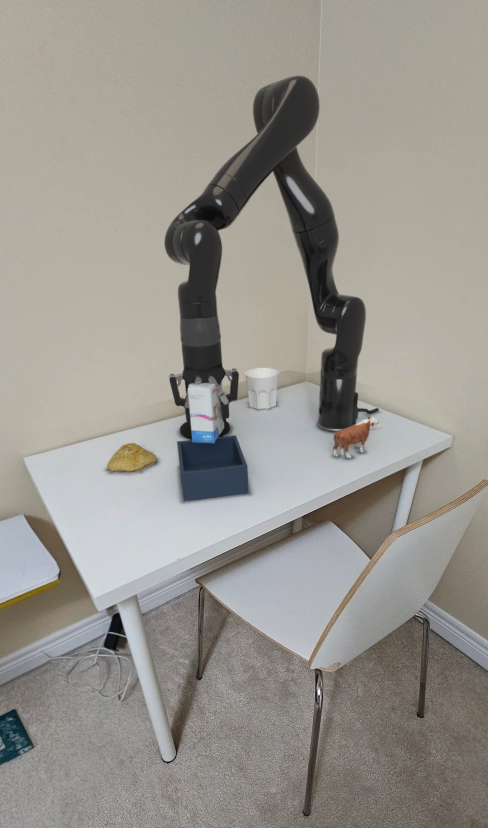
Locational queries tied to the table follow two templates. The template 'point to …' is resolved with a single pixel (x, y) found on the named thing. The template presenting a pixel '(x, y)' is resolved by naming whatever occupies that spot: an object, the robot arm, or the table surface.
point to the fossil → (131, 459)
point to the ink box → (205, 412)
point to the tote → (212, 468)
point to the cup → (262, 387)
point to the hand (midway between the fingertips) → (207, 421)
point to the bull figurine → (354, 435)
